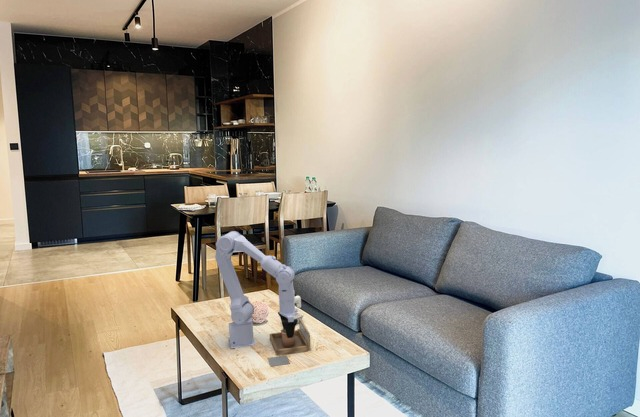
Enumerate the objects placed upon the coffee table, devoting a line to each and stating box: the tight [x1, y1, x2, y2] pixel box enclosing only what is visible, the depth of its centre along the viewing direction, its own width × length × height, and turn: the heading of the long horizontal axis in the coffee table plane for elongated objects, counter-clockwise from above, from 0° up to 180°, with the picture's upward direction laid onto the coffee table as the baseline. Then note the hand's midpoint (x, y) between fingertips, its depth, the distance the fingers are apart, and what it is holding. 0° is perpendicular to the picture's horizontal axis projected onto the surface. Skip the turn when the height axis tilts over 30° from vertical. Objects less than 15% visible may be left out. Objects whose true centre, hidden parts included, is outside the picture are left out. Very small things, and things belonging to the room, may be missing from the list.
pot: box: [280, 328, 296, 347], centre depth 188 cm, size 5×5×6 cm
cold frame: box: [269, 328, 312, 356], centre depth 188 cm, size 13×16×6 cm
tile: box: [267, 354, 291, 367], centre depth 175 cm, size 7×7×1 cm
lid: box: [298, 318, 311, 352], centre depth 190 cm, size 1×15×8 cm, turn 15°
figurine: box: [294, 290, 304, 325], centre depth 210 cm, size 7×9×15 cm
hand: (288, 333), depth 188 cm, fingers open, 7 cm apart
